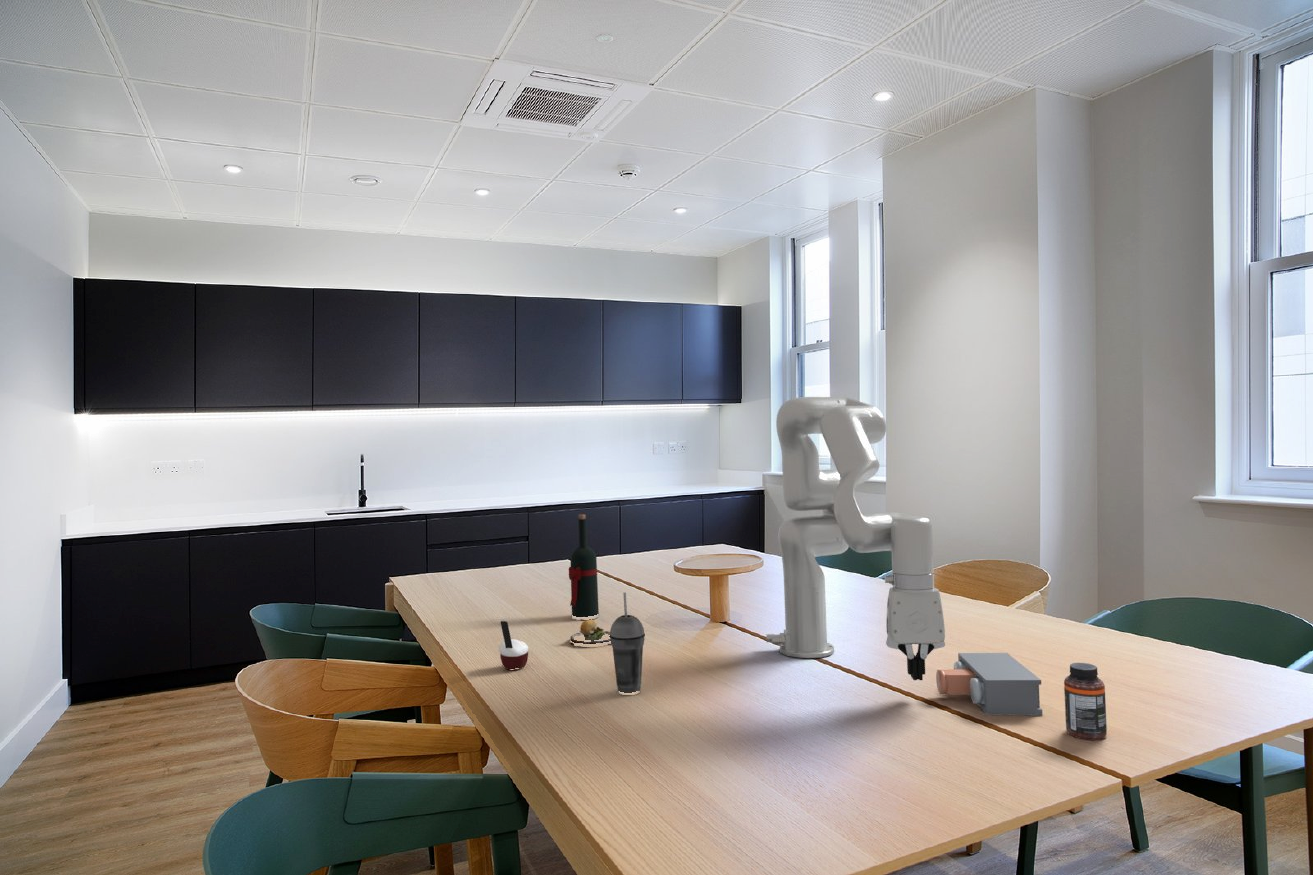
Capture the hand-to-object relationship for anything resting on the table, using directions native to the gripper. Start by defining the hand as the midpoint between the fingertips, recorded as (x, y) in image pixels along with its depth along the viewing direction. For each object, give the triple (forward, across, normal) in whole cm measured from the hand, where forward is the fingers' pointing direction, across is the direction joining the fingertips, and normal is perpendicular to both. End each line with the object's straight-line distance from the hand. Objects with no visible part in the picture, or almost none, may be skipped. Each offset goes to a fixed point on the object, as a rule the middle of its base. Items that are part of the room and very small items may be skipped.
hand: (916, 678), depth 151 cm
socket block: (+4, +14, 0) cm, 15 cm away
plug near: (+3, +13, -5) cm, 15 cm away
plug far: (+3, +13, +6) cm, 15 cm away
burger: (+4, -71, +45) cm, 84 cm away
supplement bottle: (+4, +23, -18) cm, 30 cm away
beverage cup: (+4, -56, +4) cm, 56 cm away
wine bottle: (+4, -79, +72) cm, 107 cm away
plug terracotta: (+3, +9, 0) cm, 9 cm away
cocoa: (+4, -85, +21) cm, 88 cm away
